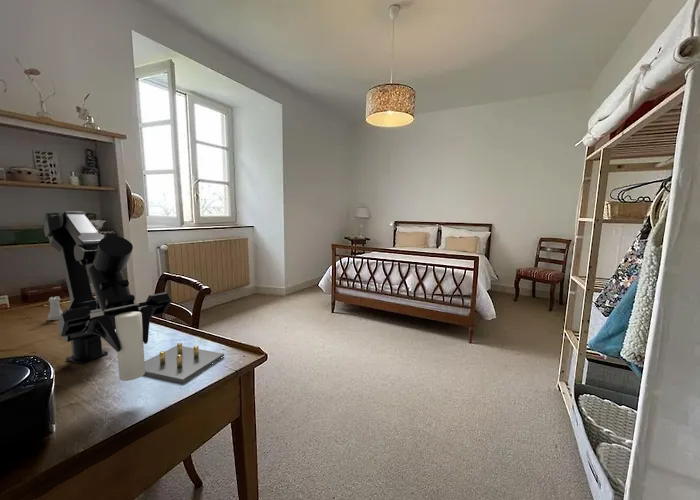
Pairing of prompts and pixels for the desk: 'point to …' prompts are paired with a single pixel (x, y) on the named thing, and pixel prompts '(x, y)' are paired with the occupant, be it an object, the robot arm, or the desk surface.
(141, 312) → the robot arm
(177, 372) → the charcoal plate
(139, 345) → the cream post
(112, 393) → the desk surface
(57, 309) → the rook chess piece
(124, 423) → the desk surface
